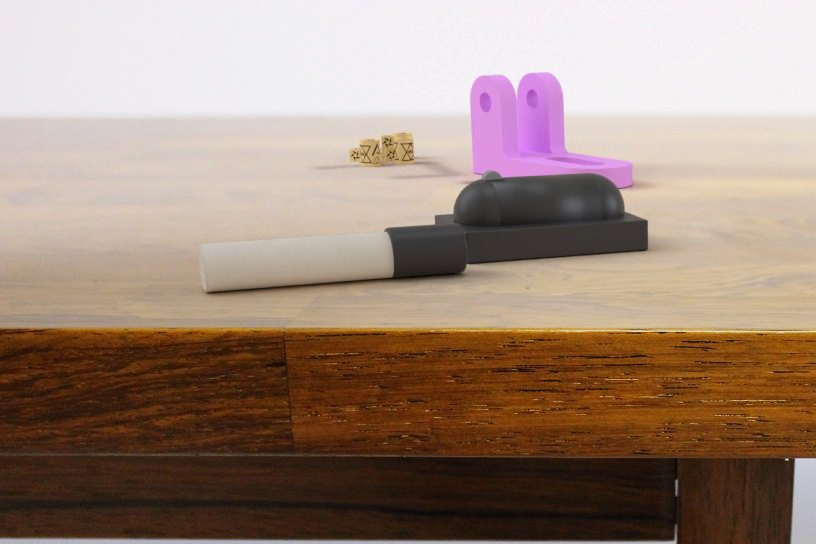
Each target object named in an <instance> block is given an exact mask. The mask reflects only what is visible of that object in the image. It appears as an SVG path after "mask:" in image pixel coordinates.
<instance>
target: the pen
mask: <svg viewBox="0 0 816 544" xmlns="http://www.w3.org/2000/svg"><path fill="white" fill-rule="evenodd" d="M467 255H468V254H467V242H466V237H465V233H464V231H463V228H462V226H461V225H460V224H458V223H450V224H435V223H434V224H421V225H405V226H404V225H403V226H389V227H386V228H385V229H384V230H383V231H375V232H373V231H372V232H360V233H359V232H358V233H344V234H329V235H328V234H327V235H316V236H315V235H313V236H312V235H311V236H299V237H284V238H270V239H255V240H254V239H253V240H239V241H237V240H236V241H223V242H222V241H221V242H208V243H199V244H198V246H197V258H198V268H199V274H200V279H201V280H200V282H201V285H202V289H203V291H204V292H205V293H212V292H213V293H214V292H225V291H237V290H240V291H241V290H251V289H265V288H275V287H276V288H277V287H288V286H289V287H290V286H301V285H315V284H326V283H339V282H340V283H341V282H350V281H364V280H375V279H377V280H378V279H389V278H390V279H391V278H392V279H394V278H406V277H407V278H409V277H418V276H419V277H420V276H432V275H445V274H458V273H463V272H465V271H466V269H467V264H468V263H467Z"/></svg>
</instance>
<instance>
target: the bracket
mask: <svg viewBox="0 0 816 544" xmlns="http://www.w3.org/2000/svg"><path fill="white" fill-rule="evenodd" d="M469 93H470V94H469V104H470V105H469V107H470V109H469V110H470V126H471V128H470V129H471V130H470V131H471V144H472V145H471V148H472V149H471V151H472V171H473V174H479V175H483V174H484V173H485V172H486V171H488V170H493V171H496V172H498V173H499V174H500V175H501V176H502V177H520V176H539V175H558V174H578V173H594V174H599V175H602V176H604V177H606V178H608V179H609V180H611V181H612V182H613V183H614V184H615V185H616V186H617V188H618V189H623V188H628V187H630V186H632V185H633V182H634V181H633V162H631V161H628V160H622V159H616V158H609V157H602V156H597V155H596V156H595V155H590V154H589V155H588V154H581V153H576V152H575V153H574V152H569V151H568V150H567V149H566V146H565V145H566V144H565V143H566V142H565V108H564V107H565V106H564V104H565V103H564V92H563V89H562V85H561V84H560V81H559V80H558V78H557V77H556V75H554V74H553V73H551V72H548V71H542V72H541V71H540V72H529V73H525V74H524V75H523V76H522V77H521V79H520V80H519V82H518V86H517V90H515V87H514V85H513V83H512V82H511V81H510V79H509V78H508V77H507V76H505V75H504V74H488V75H487V74H485V75H483V74H482V75H480V76H478V77H477V78H476V79H475V80H474V81H473V82H472V85H471V88H470V92H469Z"/></svg>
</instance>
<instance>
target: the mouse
mask: <svg viewBox="0 0 816 544" xmlns="http://www.w3.org/2000/svg"><path fill="white" fill-rule="evenodd" d="M625 210H626V206H625V200H624V197H623V194H622V192H621V191H620V188H617V186H616V185H615V184H614V183H613V182H612V181H611V180H609V179H608V178H606V177H604V176H602V175H599V174H594V173H578V174H558V175H539V176H520V177H502V176H501V175H500V174H499V173H498V172H496V171H493V170H488V171H486V172H485V173H484V174H481V178H479V179H476V180H473V181H472V182H470V183H469V184H467V185H465V186H464V188H462V190H460V192H459V193H458V195H457V196H456V198H455V202H454V205H453V213H447V214H444V213H443V214H435V215H434V225H435V224H450V223H458V224H460V225H461V226H462V228H463V231H464V233H465V237H466V242H467V254H468V255H467V264H477V263H492V262H503V261H517V260H518V261H519V260H530V259H531V260H532V259H543V258H557V257H570V256H582V255H596V254H597V255H598V254H609V253H623V252H634V251H635V252H636V251H648V250H649V221H648V219H646V218H643V217H640V216H637V215H635V214H633V213H631V212H628V211H625Z"/></svg>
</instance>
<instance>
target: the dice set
mask: <svg viewBox="0 0 816 544" xmlns="http://www.w3.org/2000/svg"><path fill="white" fill-rule="evenodd" d="M358 142H359V147H353V148H349V162H351V163H360V167H364V168H376V167H377V168H378V167H381V166H382V162H384V163H389V162H394V164H395V165H414V164H415V147H414V137H413V132H393V134H381V135H380V139H378V138H362V139H359V141H358Z"/></svg>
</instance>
